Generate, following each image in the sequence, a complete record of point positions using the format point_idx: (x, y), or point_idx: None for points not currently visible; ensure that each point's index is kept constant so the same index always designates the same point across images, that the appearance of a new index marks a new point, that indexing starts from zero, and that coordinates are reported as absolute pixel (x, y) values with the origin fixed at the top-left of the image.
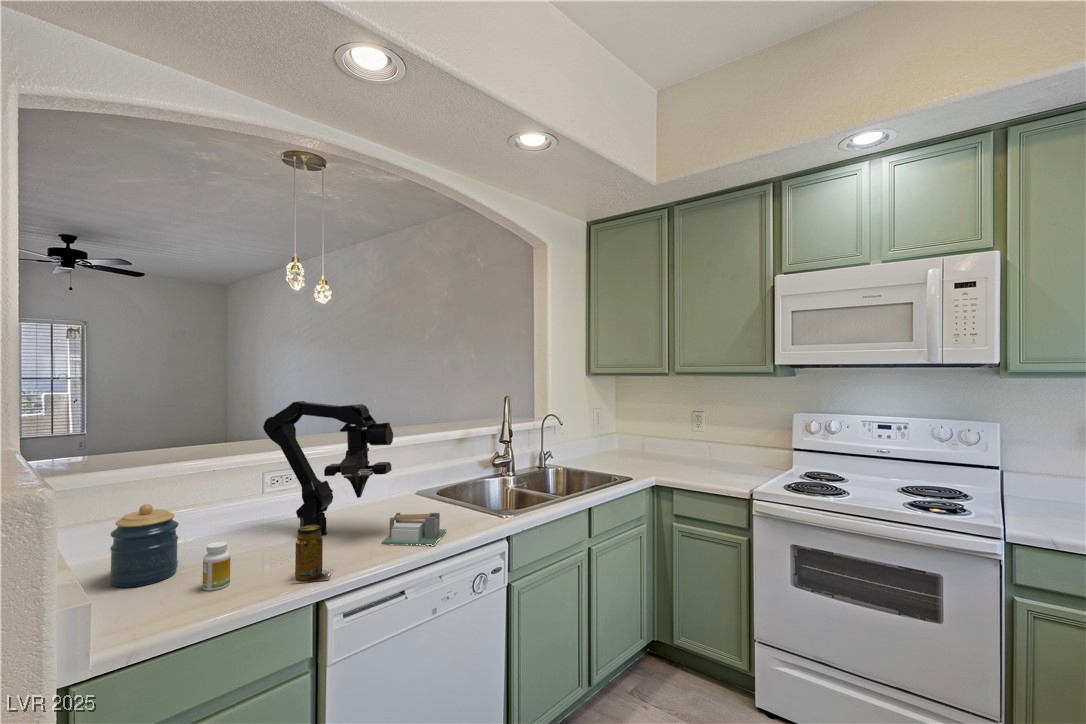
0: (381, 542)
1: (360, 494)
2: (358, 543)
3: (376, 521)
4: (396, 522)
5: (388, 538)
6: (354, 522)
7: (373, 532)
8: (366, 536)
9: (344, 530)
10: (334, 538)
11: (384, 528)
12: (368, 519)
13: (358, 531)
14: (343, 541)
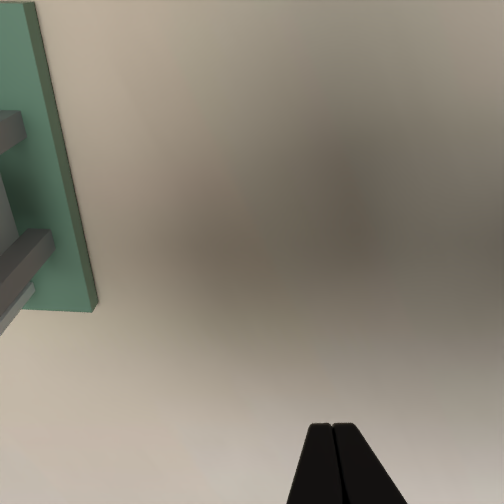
0: (25, 4)
1: (299, 467)
2: (239, 18)
3: (304, 427)
4: (9, 269)
5: (19, 97)
6: (429, 413)
7: (237, 264)
8: (249, 186)
9: (453, 291)
10: (484, 127)
11: (202, 331)
12: None
13: (348, 277)
14: (386, 59)
